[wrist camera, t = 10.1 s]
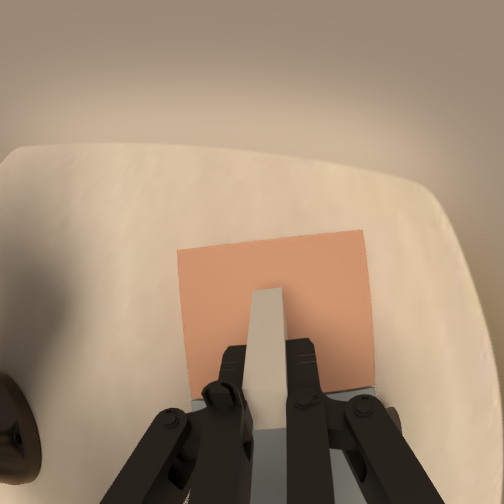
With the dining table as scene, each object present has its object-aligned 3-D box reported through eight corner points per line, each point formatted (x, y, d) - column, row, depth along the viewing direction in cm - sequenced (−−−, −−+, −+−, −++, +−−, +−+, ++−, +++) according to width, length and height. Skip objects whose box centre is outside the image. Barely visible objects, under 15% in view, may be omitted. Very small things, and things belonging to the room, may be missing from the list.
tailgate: (374, 386, 17) (362, 229, 18) (192, 399, 18) (176, 250, 20) (368, 379, 19) (357, 234, 20) (199, 391, 20) (185, 253, 21)
